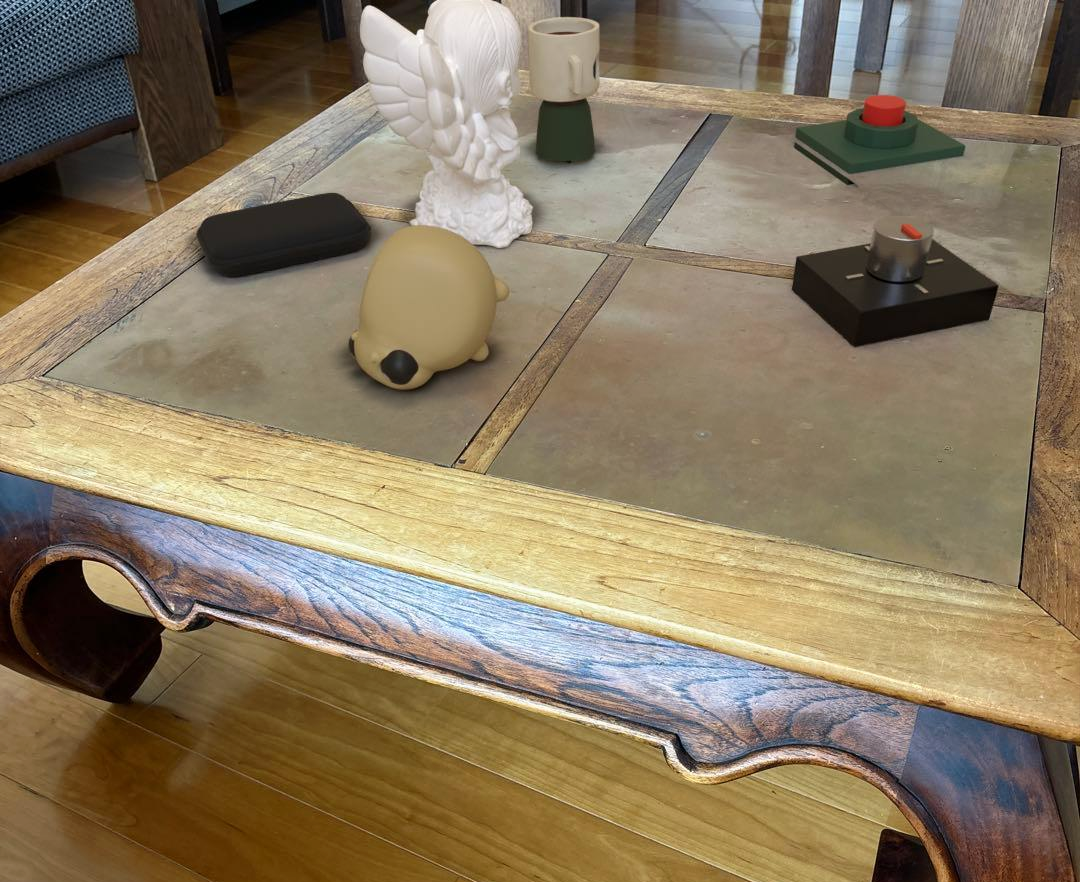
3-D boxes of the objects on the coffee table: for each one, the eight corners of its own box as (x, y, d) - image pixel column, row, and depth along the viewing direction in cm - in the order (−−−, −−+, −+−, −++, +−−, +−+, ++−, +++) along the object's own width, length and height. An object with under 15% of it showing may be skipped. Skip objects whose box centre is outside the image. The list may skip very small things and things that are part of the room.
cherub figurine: (565, 238, 94) (562, -2, 81) (445, 274, 89) (421, 26, 76) (494, 192, 102) (481, -32, 89) (381, 223, 98) (349, -9, 85)
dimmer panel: (917, 266, 88) (925, 231, 86) (989, 320, 80) (1000, 283, 78) (791, 289, 85) (796, 254, 83) (854, 347, 78) (861, 310, 76)
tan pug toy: (404, 379, 83) (296, 329, 75) (478, 247, 81) (375, 182, 73) (466, 431, 77) (355, 383, 69) (548, 290, 74) (443, 223, 67)
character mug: (612, 172, 105) (615, 36, 97) (546, 181, 104) (542, 44, 96) (583, 137, 114) (583, 8, 105) (521, 144, 112) (515, 15, 104)
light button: (888, 113, 106) (892, 92, 105) (910, 125, 103) (914, 104, 102) (853, 118, 105) (857, 97, 104) (874, 131, 102) (878, 110, 101)
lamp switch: (900, 131, 112) (907, 93, 109) (960, 167, 104) (970, 127, 101) (793, 148, 109) (798, 109, 107) (847, 185, 101) (854, 145, 99)
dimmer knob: (856, 261, 82) (864, 215, 80) (906, 254, 83) (916, 208, 80) (882, 285, 79) (892, 239, 76) (934, 278, 80) (946, 231, 77)
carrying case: (346, 210, 100) (194, 240, 96) (341, 179, 98) (186, 209, 94) (379, 252, 93) (216, 287, 88) (374, 220, 91) (208, 254, 86)
